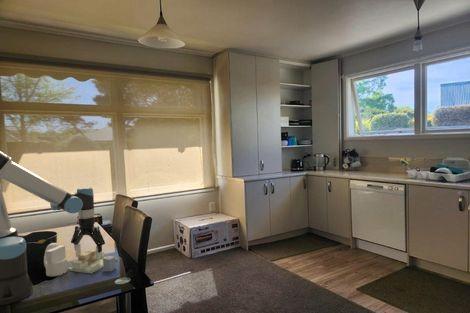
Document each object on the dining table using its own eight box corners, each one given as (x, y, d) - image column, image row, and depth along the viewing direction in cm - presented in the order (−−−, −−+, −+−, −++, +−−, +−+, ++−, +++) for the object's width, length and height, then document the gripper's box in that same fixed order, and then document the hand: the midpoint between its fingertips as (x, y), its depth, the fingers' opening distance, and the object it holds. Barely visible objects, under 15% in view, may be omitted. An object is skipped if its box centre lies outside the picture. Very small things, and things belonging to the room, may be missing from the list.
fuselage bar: (84, 265, 151) (84, 255, 151) (78, 265, 152) (78, 255, 152) (99, 258, 161) (98, 249, 161) (93, 257, 162) (92, 248, 162)
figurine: (53, 268, 152) (52, 245, 151) (40, 268, 153) (39, 245, 153) (64, 263, 159) (62, 241, 158) (51, 263, 160) (50, 240, 160)
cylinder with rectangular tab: (57, 276, 142) (55, 251, 141) (41, 275, 144) (40, 251, 143) (71, 269, 150) (70, 245, 150) (56, 268, 152) (55, 245, 152)
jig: (91, 273, 144) (91, 265, 144) (67, 270, 149) (67, 262, 149) (117, 259, 161) (116, 252, 161) (95, 257, 166) (94, 250, 166)
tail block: (110, 271, 145) (109, 259, 145) (103, 271, 147) (102, 258, 147) (115, 268, 149) (115, 256, 149) (109, 267, 150) (108, 256, 150)
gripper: (111, 216, 155) (113, 256, 156) (73, 214, 163) (75, 253, 164) (100, 219, 148) (102, 262, 149) (62, 217, 156) (64, 258, 157)
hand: (88, 257), depth 156 cm, fingers open, 13 cm apart
